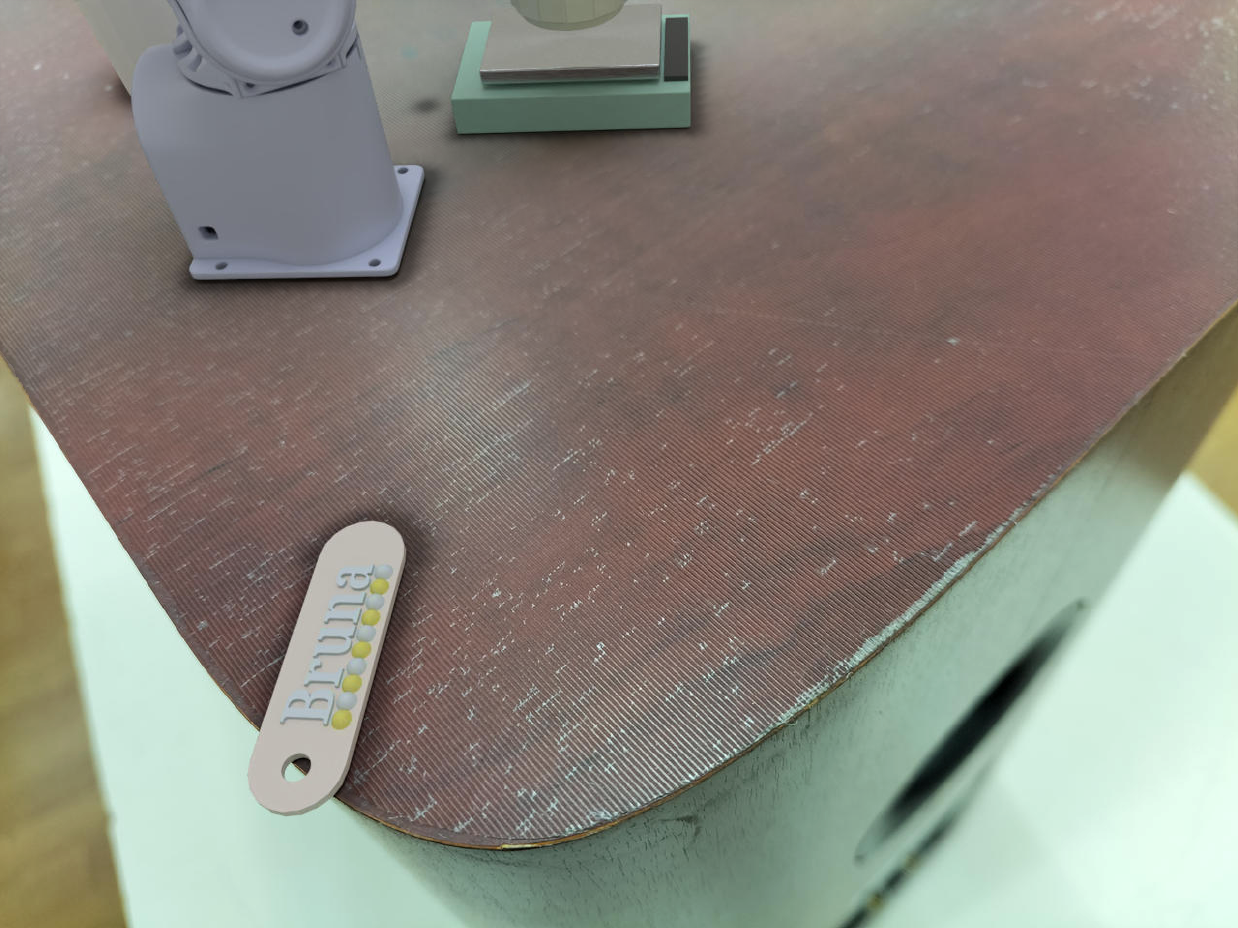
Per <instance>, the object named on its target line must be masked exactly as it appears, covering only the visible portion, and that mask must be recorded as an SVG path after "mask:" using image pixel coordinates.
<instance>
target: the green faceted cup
mask: <svg viewBox="0 0 1238 928" xmlns="http://www.w3.org/2000/svg"><path fill="white" fill-rule="evenodd" d="M627 1H628V0H509V2H510V4H511V5H512V7H513V9H516V10H517V12H518V13H519V14H520V15H522V16H523V18H524V19H525V20H526V21H527V22H529V23H530V24H532V25H534V26H537V27H540V28H543V29H548V30H555V31H573V30H582V29H587V28H591V27H595V26H598V25H600V24H603V23H605V22H607V21H609V20H611V19H612V18H614V17H615V16H616V15H617V14H618V13H619V12H620V11H621V9H622V7H623V5H625V4H626V2H627Z"/></svg>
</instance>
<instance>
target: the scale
mask: <svg viewBox="0 0 1238 928" xmlns="http://www.w3.org/2000/svg"><path fill="white" fill-rule="evenodd" d="M491 22H492V20H483V21H482V20H481V21H478V20H477V21H472V22H471V25H470V28H469V32H468V34H467V35H468V36H467V39H466V42H465V46H464V49H463V54H462V57H461V60H460V65H459V68H458V72H457V76H456V79H455V82H454V86H453V90H452V93H451V97H450V104H451V109H452V113H453V117H454V118H453V119H454V123H455V128H456V133H457V134H459V135H462V134H496V133H497V134H500V133H532V132H533V133H537V132H539V133H540V132H569V131H606V130H607V131H608V130H638V129H639V130H642V129H644V130H645V129H675V128H676V129H677V128H680V129H681V128H690V127H691V125H692V124H691V123H692V122H691V119H692V118H691V115H692V114H691V15H690V14H689V13H679V14H677V13H675V14H662V28H661V62H660V79H652V80H620V81H589V82H557V83H525V84H494V85H482V84H481V80H480V74H479V70H480V66H481V62H482V58H483V54H484V50H485V46H486V42H487V38H488V34H489V30H490V26H491Z"/></svg>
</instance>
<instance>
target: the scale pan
mask: <svg viewBox="0 0 1238 928" xmlns="http://www.w3.org/2000/svg"><path fill="white" fill-rule="evenodd" d="M662 10H663V7H662V4H661V3H643V4H642V3H641V4H639V3H637V4H636V3H635V4H623V7H622V9H621V11H620V12H619V13H618V14H617V15H616V16H615V17H614V18H612V19H611V20H609V21H607V22H605V23H603V24H600V25H598V26H595V27H591V28H587V29H582V30H573V31H555V30H548V29H543V28H540V27H537V26H534V25H532V24H530V23H529V22H527V21H526V20H525V19H524V18H523V16H522V15H520V14H519V13H518V12H517V10H516V9H515V8H505V9H504V8H503V9H501V8H499V9H494V10H493V14H492V18H491V21H492V22H491V26H490V30H489V34H488V38H487V42H486V46H485V50H484V54H483V58H482V62H481V66H480V70H479V74H480V80H481V84H482V85H494V84H525V83H557V82H589V81H620V80H652V79H660V62H661V28H662V15H663V11H662Z"/></svg>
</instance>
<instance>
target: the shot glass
mask: <svg viewBox="0 0 1238 928" xmlns="http://www.w3.org/2000/svg"><path fill="white" fill-rule="evenodd" d="M74 1H75V3H76V5H77V7H78V9H79V10H80V12H81V14H82V16H83V17H84V19H85V20H86V22H87V24H88V25H89V28H90V30H91V31H92V33H93V34H94V36H95V37H96V40H97V41H98V43H99V45H100V46H101V48H102V50H103V52H104V54H105V55H106V57H107V59H108V60H109V62H110V64H111V66H112V67H113V69H114V70H115V72H116V74H117V76H118V77H119V79H120V81H121V82H122V84H123V86H124V88H125V89H126V91H127V93H128V95H129V96H130V97H131V86H132V78H133V74H134V70H135V66H136V64H137V61H138V59H139V57H140V55H141V54H142V53H143V52H144V51H145V50H146V49H148V48H149V47H152V46H155V45H160V44H165V43H171V42H173V40H174V39H176V37H177V32H176V27H177V23H178V19H177V17H176V15H175V13H174V11H173V9H172V8H171V6H170V5H169V3H168V2H167V0H74Z"/></svg>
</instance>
